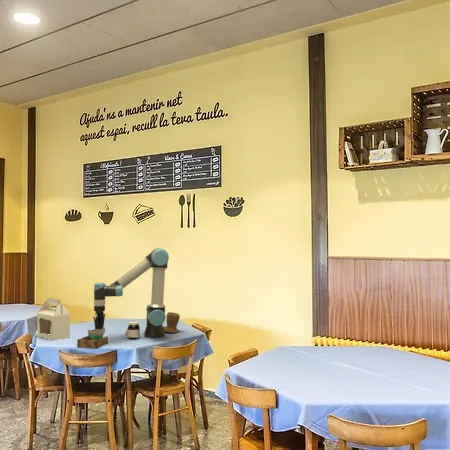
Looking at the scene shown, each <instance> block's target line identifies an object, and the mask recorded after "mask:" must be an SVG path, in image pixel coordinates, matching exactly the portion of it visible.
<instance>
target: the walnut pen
mask: <svg viewBox="0 0 450 450" xmlns="http://www.w3.org/2000/svg"><path fill="white" fill-rule="evenodd" d="M76 343H77V344H76V346H77V348H78V349H79V348H83V349H95V350H97V349H100V348H102V347H104V346H106V345H108V344H109V336H103V338H101V339H99V340H96V341H95V340H88V335H86V336H83V337H81V338H78V339H77V341H76ZM107 343H108V344H107ZM105 344H106V345H105ZM103 345H104V346H103ZM101 346H102V347H101Z"/></svg>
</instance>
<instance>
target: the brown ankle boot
mask: <svg viewBox="0 0 450 450" xmlns="http://www.w3.org/2000/svg"><path fill="white" fill-rule="evenodd" d="M165 316H166V318H165V321H166V326H164V325H163V328H164V332H165V333H171V334H173V333H178V332H179V331H180V330H179V329H178V328H177V326H178V325H179V321H180V317H181V316H180V314H179V313H176V312H171V311H168V312H167V313H166V315H165Z"/></svg>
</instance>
